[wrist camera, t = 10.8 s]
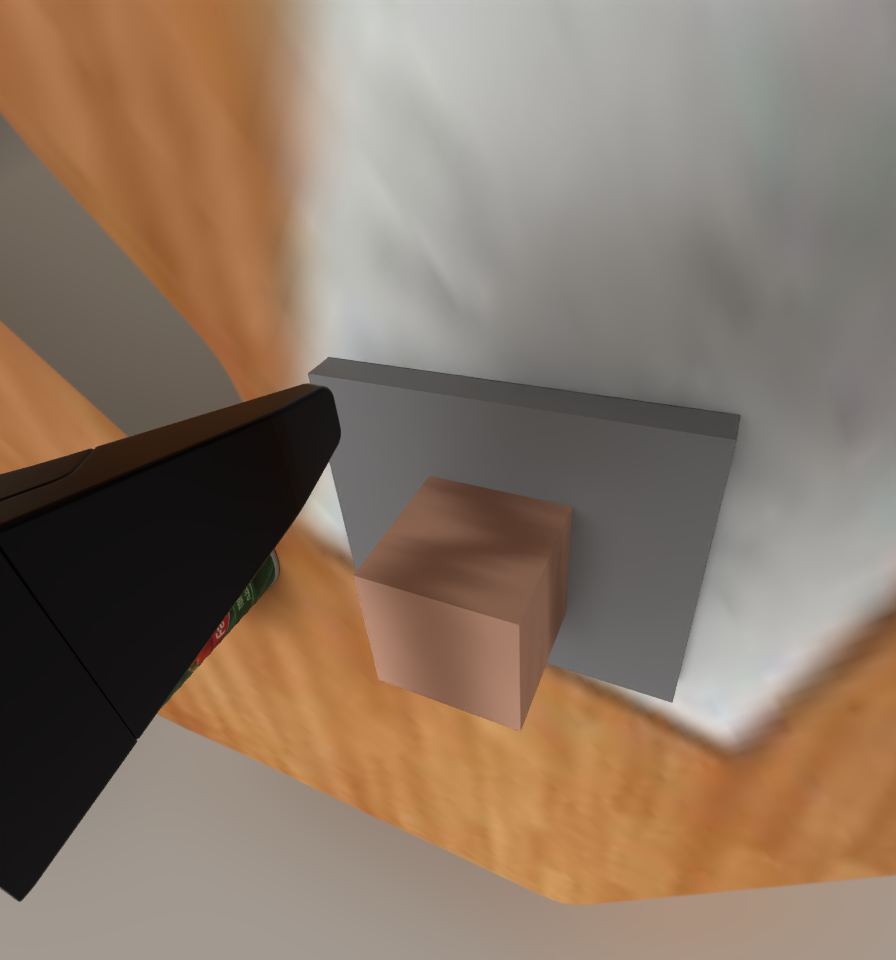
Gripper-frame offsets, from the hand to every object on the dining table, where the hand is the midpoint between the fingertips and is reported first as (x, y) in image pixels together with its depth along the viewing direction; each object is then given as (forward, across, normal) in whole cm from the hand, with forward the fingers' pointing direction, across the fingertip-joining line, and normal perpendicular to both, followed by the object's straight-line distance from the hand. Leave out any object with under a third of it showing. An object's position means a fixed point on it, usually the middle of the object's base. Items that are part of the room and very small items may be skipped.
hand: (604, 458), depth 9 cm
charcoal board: (+12, +6, +13) cm, 19 cm away
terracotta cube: (+10, +6, +13) cm, 18 cm away
